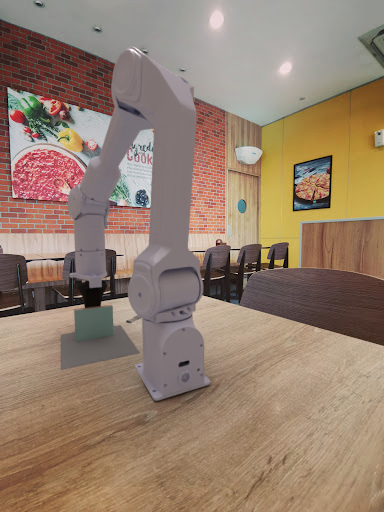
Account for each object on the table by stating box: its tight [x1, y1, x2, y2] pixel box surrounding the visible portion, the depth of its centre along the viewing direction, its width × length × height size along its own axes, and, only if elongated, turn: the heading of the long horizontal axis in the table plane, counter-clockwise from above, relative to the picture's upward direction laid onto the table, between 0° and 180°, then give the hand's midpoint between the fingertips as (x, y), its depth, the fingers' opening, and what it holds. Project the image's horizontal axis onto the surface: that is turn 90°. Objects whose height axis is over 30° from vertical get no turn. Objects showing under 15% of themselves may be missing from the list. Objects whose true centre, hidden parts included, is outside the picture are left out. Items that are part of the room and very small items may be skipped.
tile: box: [73, 304, 114, 342], centre depth 51 cm, size 1×7×6 cm, turn 117°
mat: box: [60, 324, 141, 371], centre depth 48 cm, size 16×12×1 cm
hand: (92, 316), depth 53 cm, fingers closed
